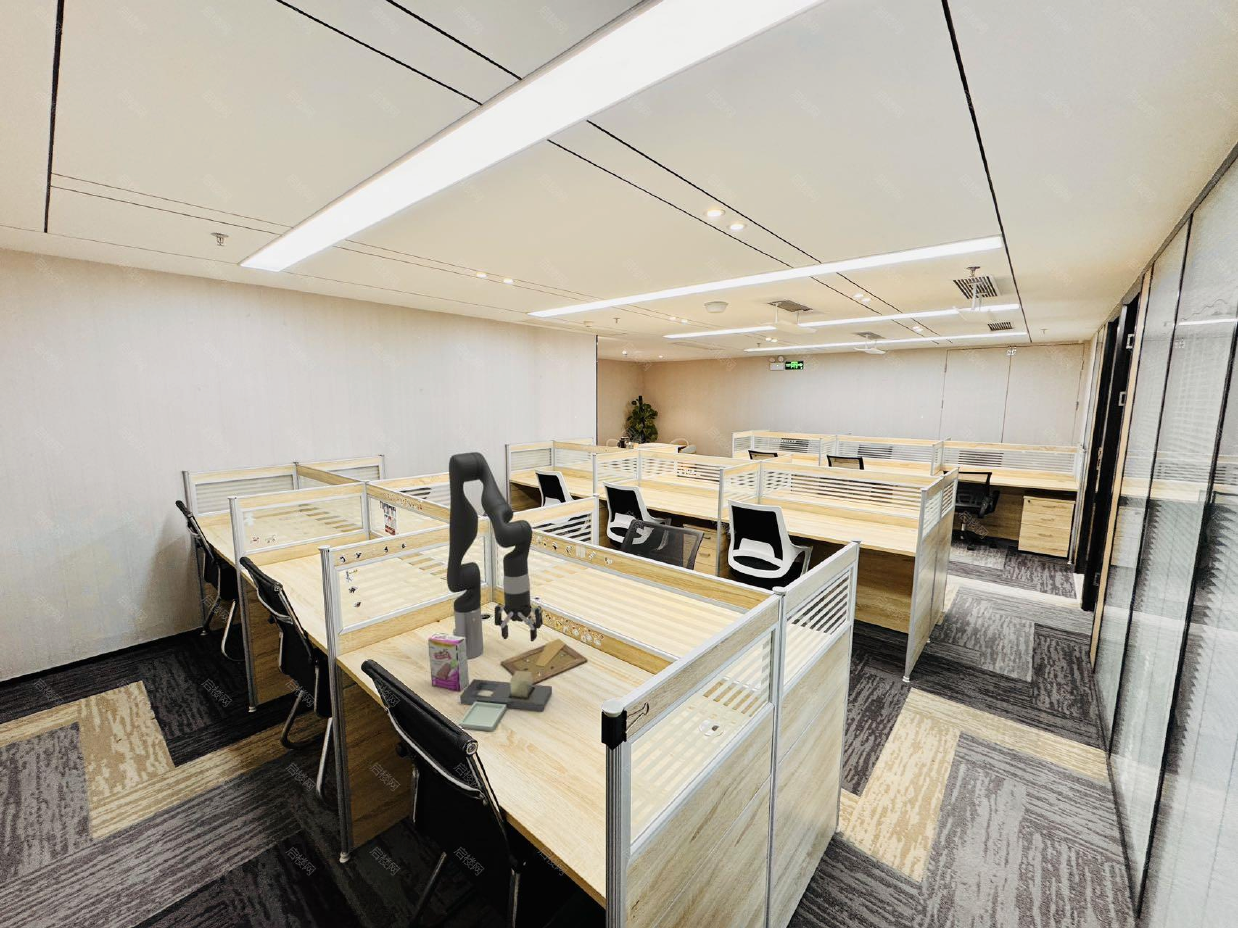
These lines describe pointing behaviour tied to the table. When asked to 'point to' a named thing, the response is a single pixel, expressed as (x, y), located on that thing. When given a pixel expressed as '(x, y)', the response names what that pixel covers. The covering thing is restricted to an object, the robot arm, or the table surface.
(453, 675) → the candy bar box
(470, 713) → the tray
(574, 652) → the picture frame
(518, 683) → the tan square peg
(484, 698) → the board with square holes
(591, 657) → the table surface
